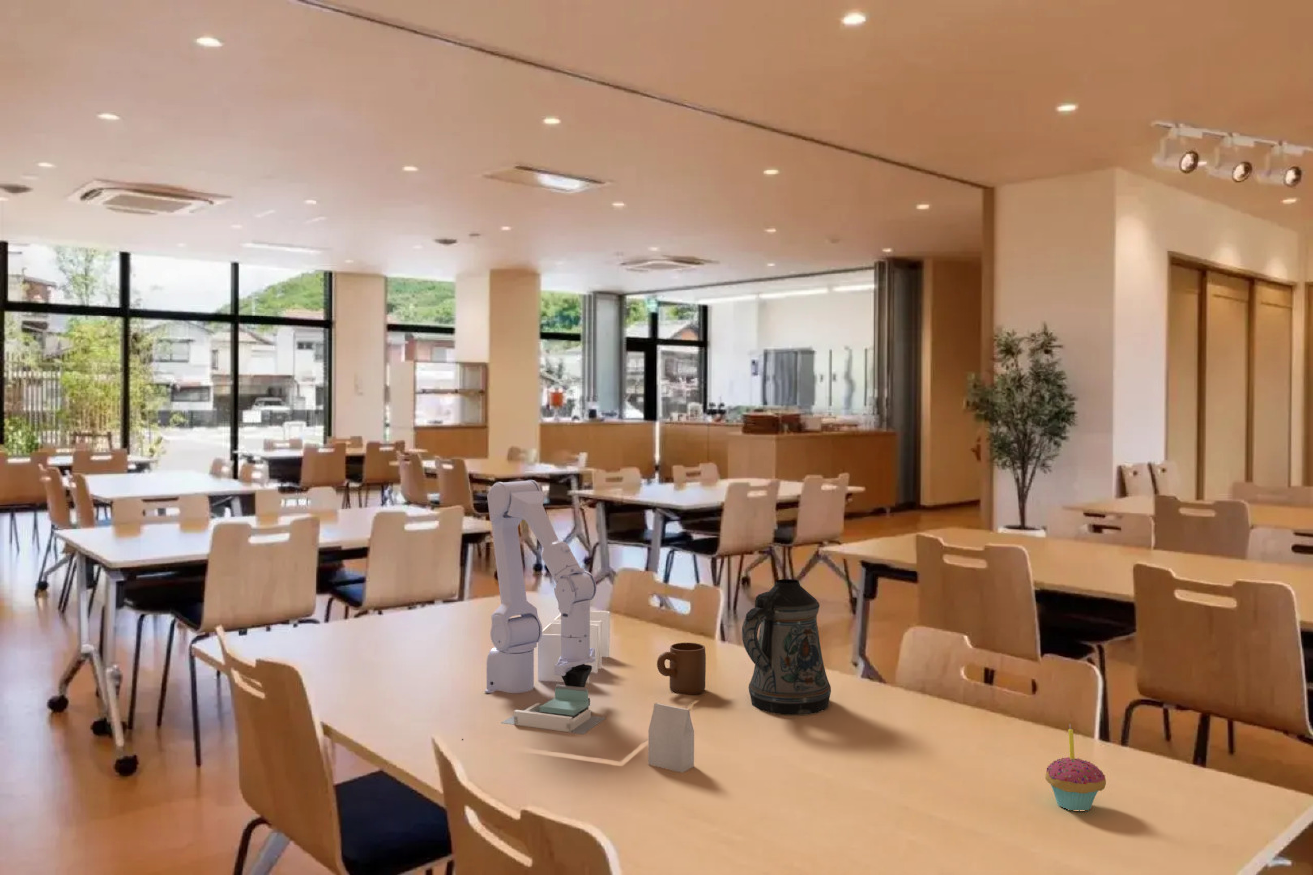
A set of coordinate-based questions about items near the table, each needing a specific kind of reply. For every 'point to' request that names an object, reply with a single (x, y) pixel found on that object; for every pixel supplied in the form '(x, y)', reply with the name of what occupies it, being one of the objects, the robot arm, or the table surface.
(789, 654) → the beer stein
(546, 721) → the dock
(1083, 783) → the cupcake
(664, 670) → the mug
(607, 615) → the storage container
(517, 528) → the robot arm
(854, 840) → the table surface
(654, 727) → the light grey paper bag
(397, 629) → the table surface
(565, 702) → the trolley
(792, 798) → the table surface
